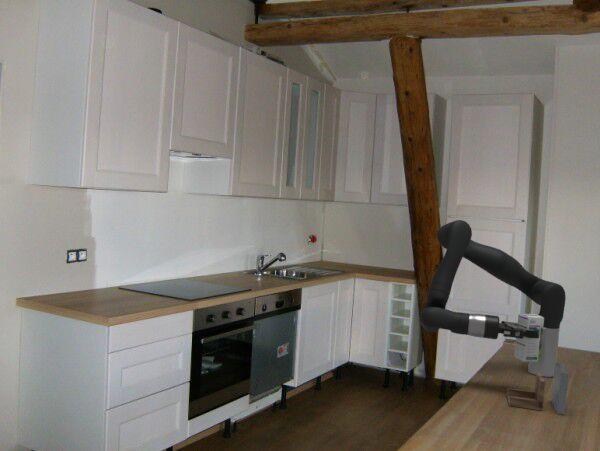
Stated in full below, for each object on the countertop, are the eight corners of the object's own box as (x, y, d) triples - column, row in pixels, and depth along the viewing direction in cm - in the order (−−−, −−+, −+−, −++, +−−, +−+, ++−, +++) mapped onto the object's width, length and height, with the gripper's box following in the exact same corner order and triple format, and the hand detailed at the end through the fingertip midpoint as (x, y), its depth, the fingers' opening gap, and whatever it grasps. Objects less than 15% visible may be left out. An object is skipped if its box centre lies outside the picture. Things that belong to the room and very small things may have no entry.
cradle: (506, 395, 200) (509, 368, 199) (538, 400, 197) (540, 372, 197) (509, 405, 189) (511, 377, 189) (542, 410, 187) (545, 381, 187)
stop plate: (551, 401, 197) (554, 363, 197) (558, 402, 197) (561, 363, 196) (557, 413, 186) (561, 372, 185) (564, 414, 185) (568, 373, 185)
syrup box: (524, 362, 201) (529, 316, 200) (513, 357, 207) (518, 312, 206) (540, 362, 202) (545, 317, 202) (528, 357, 208) (533, 313, 207)
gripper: (485, 318, 200) (540, 324, 197) (483, 311, 214) (535, 317, 210) (482, 342, 201) (538, 349, 197) (481, 333, 215) (532, 339, 211)
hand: (536, 332), depth 204 cm, fingers closed on syrup box, 7 cm apart
